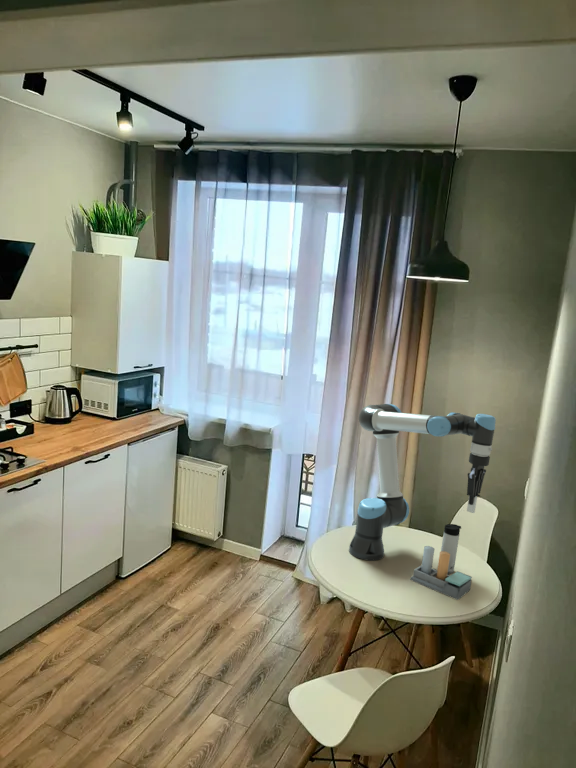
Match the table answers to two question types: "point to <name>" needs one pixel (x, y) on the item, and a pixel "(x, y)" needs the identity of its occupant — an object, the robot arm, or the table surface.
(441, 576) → the orange capsule
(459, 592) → the housing
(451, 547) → the travel mug
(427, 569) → the ball
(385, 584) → the table surface
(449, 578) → the lid
